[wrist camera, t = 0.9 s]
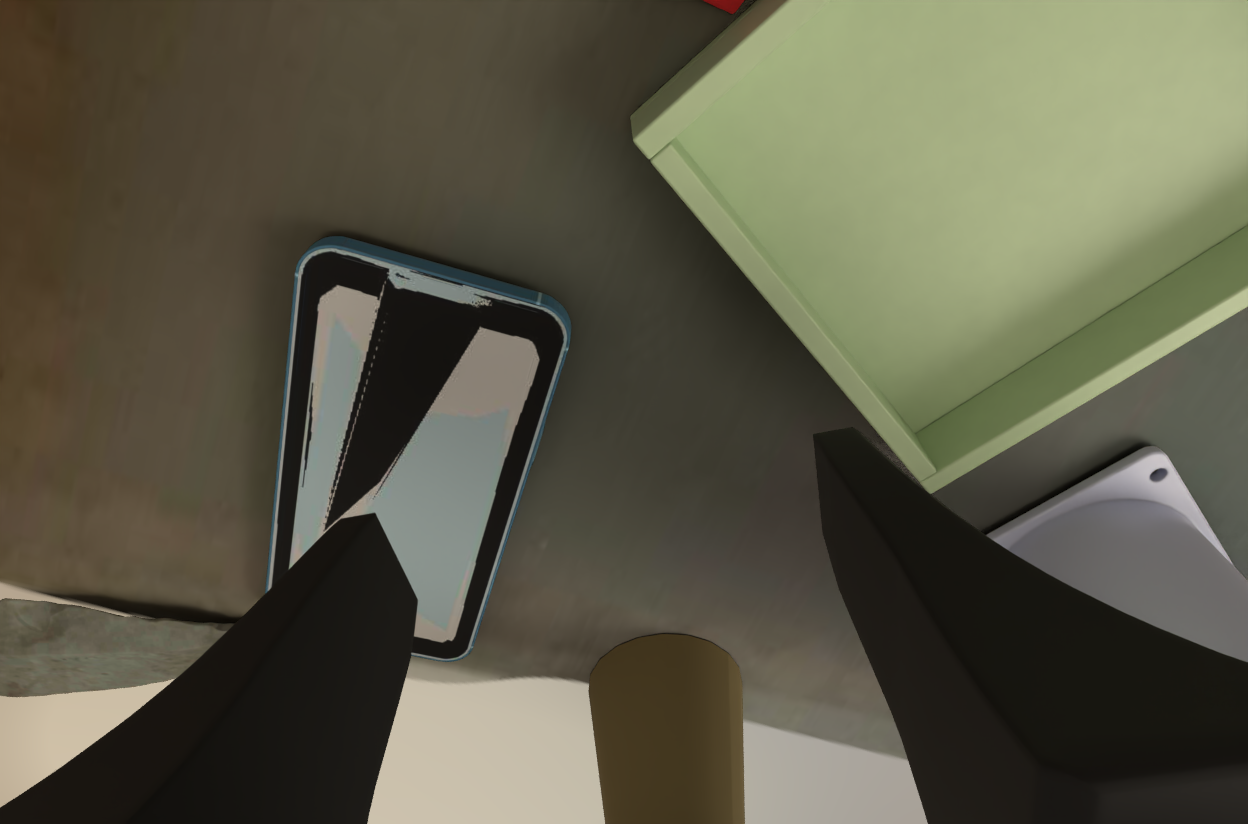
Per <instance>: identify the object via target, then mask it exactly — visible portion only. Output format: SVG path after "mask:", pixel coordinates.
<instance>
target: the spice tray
mask: <svg viewBox="0 0 1248 824" xmlns="http://www.w3.org/2000/svg"><path fill="white" fill-rule="evenodd" d="M630 120H631V128H632V137H633V142H634V143H635V145H636V146H637V147H638V148H639V149H640V150H641V152H642V153H643V154H644V155H645V156H646V158H648V159H650V161H651V164H652V165H653V166H654V167H655V168H656V170H657V171H658V172H659V173H660V174H661V175H662V177H663V178H664V179H665V180H666V181H667V183H668V184H669V185H670V186H671V187H672V189H673V190H674V191H675V192H676V193H677V195H678V196H679V197H680V198H681V199H682V201H683V202H684V203H685V204H686V205H687V206H688V208H689V209H690V210H691V211H692V212H693V214H694V215H695V216H696V217H697V218H698V220H699V221H700V222H701V223H702V224H703V226H704V227H705V228H706V229H707V230H708V231H709V233H710V234H711V235H712V236H713V237H714V239H715V240H716V241H717V242H718V243H719V245H720V246H721V247H722V248H723V249H724V251H725V252H726V253H727V254H728V255H729V256H730V258H731V259H732V260H733V261H734V262H735V264H736V265H737V266H738V267H739V268H740V270H741V271H742V272H743V273H744V274H745V276H746V277H747V278H748V279H749V280H750V282H751V283H752V284H753V285H754V286H755V287H756V289H757V290H758V291H759V292H760V293H761V295H762V296H763V297H764V298H765V299H766V301H767V302H768V303H769V304H770V305H771V307H772V308H773V309H774V310H775V311H776V312H777V314H778V315H779V316H780V317H781V318H782V320H783V321H784V322H785V323H786V324H787V326H788V327H789V328H790V329H791V330H792V332H793V333H794V334H795V335H796V336H797V337H798V339H799V340H800V341H801V342H802V343H803V345H804V346H805V347H806V348H807V349H808V351H809V352H810V353H811V354H812V355H813V357H814V358H815V359H816V360H817V361H818V363H819V364H820V365H821V366H822V367H823V368H824V370H825V371H826V372H827V373H828V374H829V376H830V377H831V378H832V379H833V380H834V382H835V383H836V384H837V385H838V386H839V388H840V389H841V390H842V391H843V392H844V393H845V395H846V396H847V397H848V398H849V399H850V401H851V402H852V403H853V404H854V405H855V407H856V408H857V409H858V410H859V411H860V413H861V414H862V415H863V416H864V417H865V418H866V420H867V421H868V422H869V423H870V424H871V426H872V427H873V428H874V429H875V430H876V432H877V433H878V434H879V435H880V436H881V438H882V439H883V440H884V441H885V442H886V444H887V445H888V446H889V447H890V448H891V449H892V451H893V452H894V453H895V454H896V455H897V457H898V458H899V459H900V460H901V461H902V463H903V464H904V465H905V466H906V467H907V469H908V470H909V471H910V472H911V473H912V474H913V476H914V477H915V478H916V479H917V480H918V481H919V483H920V484H921V485H922V486H923V488H924V489H925V490H926V491H927V492H928V493H930V494H932V493H933V492H935V491H937V490H938V489H940V488H942V487H944V486H945V485H947V484H949V483H950V482H952V481H954V480H955V479H957V478H959V477H960V476H962V475H964V474H965V473H967V472H969V471H971V470H972V469H974V468H976V467H977V466H979V465H981V464H982V463H984V462H986V461H987V460H989V459H991V458H992V457H994V456H996V455H998V454H999V453H1001V452H1003V451H1004V450H1006V449H1008V448H1009V447H1011V446H1013V445H1014V444H1016V443H1018V442H1020V441H1021V440H1023V439H1025V438H1026V437H1028V436H1030V435H1031V434H1033V433H1035V432H1036V431H1038V430H1040V429H1041V428H1043V427H1045V426H1047V425H1048V424H1050V423H1052V422H1053V421H1055V420H1057V419H1058V418H1060V417H1062V416H1063V415H1065V414H1067V413H1068V412H1070V411H1072V410H1074V409H1075V408H1077V407H1079V406H1080V405H1082V404H1084V403H1085V402H1087V401H1089V400H1090V399H1092V398H1094V397H1096V396H1097V395H1099V394H1101V393H1102V392H1104V391H1106V390H1107V389H1109V388H1111V387H1112V386H1114V385H1116V384H1117V383H1119V382H1121V381H1123V380H1124V379H1126V378H1128V377H1129V376H1131V375H1133V374H1134V373H1136V372H1138V371H1139V370H1141V369H1143V368H1144V367H1146V366H1148V365H1150V364H1151V363H1153V362H1155V361H1156V360H1158V359H1160V358H1161V357H1163V356H1165V355H1166V354H1168V353H1170V352H1171V351H1173V350H1175V349H1177V348H1178V347H1180V346H1182V345H1183V344H1185V343H1187V342H1188V341H1190V340H1192V339H1193V338H1195V337H1197V336H1199V335H1200V334H1202V333H1204V332H1205V331H1207V330H1209V329H1210V328H1212V327H1214V326H1215V325H1217V324H1219V323H1220V322H1222V321H1224V320H1226V319H1227V318H1229V317H1231V316H1232V315H1234V314H1236V313H1237V312H1239V311H1241V310H1242V309H1244V308H1246V307H1247V306H1248V0H757V1H755V2H754V3H753V4H752V5H751V6H750V7H749V8H748V9H747V10H746V11H744V12H743V13H742V14H741V15H740V16H739V17H738V18H737V19H736V20H735V21H734V22H732V23H731V24H730V25H729V26H728V27H727V28H726V29H725V30H724V31H723V32H722V33H720V34H719V35H718V36H717V37H716V38H715V39H714V40H713V41H712V42H711V43H709V44H708V45H707V46H706V47H705V48H704V49H703V50H702V51H701V52H700V53H699V54H697V55H696V56H695V57H694V58H693V59H692V60H691V61H690V62H689V63H688V64H687V65H685V66H684V67H683V68H682V69H681V70H680V71H679V72H678V73H677V74H676V75H675V76H673V77H672V78H671V79H670V80H669V81H668V82H667V83H666V84H665V85H664V86H662V87H661V88H660V89H659V90H658V91H657V92H656V93H655V94H654V95H653V96H652V97H650V98H649V99H648V100H647V101H646V102H645V103H644V104H643V105H642V106H641V107H640V108H638V109H637V110H636V111H635V112H634V113H633V114H632V115H631V116H630Z"/></svg>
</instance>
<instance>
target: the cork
mask: <svg viewBox="0 0 1248 824" xmlns="http://www.w3.org/2000/svg"><path fill="white" fill-rule="evenodd" d="M589 698H590V706H591V714H592V721H593V730H594V738H595V746H596V754H597V762H598V769H599V778H600V785H601V793H602V801H603V809H604V817H605V824H745V812H744V757H743V755H744V754H743V699H742V680H741V675H740V670H739V667H738V666H737V664H736V663H735V662H734V660H733V659H732V658H731V656H730V655H729V654H728V653H727V652H725V651H724V650H722V649H721V648H719V647H718V646H716V645H714V644H713V643H711V642H709V641H705V640H702V639H699V638H695V637H692V636H689V635H674V634H659V635H653V636H647V637H640V638H637V639H634V640H632V641H629V642H627V643H624V644H622V645H620V646H617V647H616V648H614V649H613V650H612V651H610V652H609V653H608V654H607V655H605V656H604V657H603V658H601V659H600V660H599V662H598V664H597V665H596V667H595V668H594V670H593V672H592V673H591V675H590V683H589Z"/></svg>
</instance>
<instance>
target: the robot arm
mask: <svg viewBox="0 0 1248 824" xmlns="http://www.w3.org/2000/svg"><path fill="white" fill-rule="evenodd" d="M813 438H814V448H815V459H816V469H817V479H818V490H819V500H820V510H821V521H822V531H823V536H824V539H825V543H826V546H827V550H828V553H829V557H830V560H831V564H832V567H833V571H834V574H835V577H836V581H837V584H838V587H839V590H840V593H841V595H842V597H843V600H844V602H845V605H846V607H847V609H848V612H849V614H850V616H851V619H852V621H853V624H854V626H855V628H856V631H857V633H858V635H859V638H860V640H861V642H862V645H863V647H864V649H865V652H866V654H867V656H868V659H869V661H870V663H871V666H872V668H873V670H874V673H875V675H876V677H877V680H878V682H879V685H880V687H881V689H882V692H883V694H884V696H885V699H886V701H887V703H888V706H889V708H890V710H891V713H892V715H893V718H894V721H895V723H896V726H897V729H898V731H899V734H900V737H901V739H902V742H903V745H904V748H905V752H906V755H907V758H908V761H909V764H910V767H911V771H912V774H913V777H914V780H915V783H916V786H917V790H918V793H919V796H920V799H921V802H922V805H923V809H924V812H925V815H926V819H927V822H928V824H1248V580H1247V579H1246V578H1245V577H1244V576H1243V575H1242V574H1241V573H1240V572H1239V571H1238V570H1237V569H1236V568H1235V567H1234V565H1233V564H1232V562H1231V560H1230V559H1229V557H1228V555H1227V554H1226V552H1225V550H1224V549H1223V547H1222V545H1221V544H1220V542H1219V540H1218V539H1217V537H1216V535H1215V534H1214V532H1213V530H1212V529H1211V527H1210V526H1209V524H1208V522H1207V521H1206V519H1205V517H1204V516H1203V514H1202V512H1201V511H1200V509H1199V507H1198V506H1197V504H1196V502H1195V501H1194V499H1193V497H1192V496H1191V494H1190V492H1189V491H1188V489H1187V487H1186V486H1185V484H1184V482H1183V481H1182V479H1181V478H1180V476H1179V474H1178V473H1177V471H1176V469H1175V468H1174V466H1173V464H1172V463H1171V461H1170V459H1169V458H1168V456H1167V455H1166V454H1165V453H1164V452H1163V451H1162V450H1161V449H1160V448H1158V447H1155V446H1148V447H1144V448H1142V449H1139V450H1138V451H1136V452H1134V453H1132V454H1130V455H1129V456H1127V457H1125V458H1123V459H1121V460H1120V461H1118V462H1116V463H1114V464H1112V465H1111V466H1109V467H1107V468H1105V469H1103V470H1102V471H1100V472H1098V473H1096V474H1094V475H1093V476H1091V477H1089V478H1087V479H1086V480H1084V481H1082V482H1080V483H1078V484H1077V485H1075V486H1073V487H1071V488H1069V489H1068V490H1066V491H1064V492H1062V493H1060V494H1059V495H1057V496H1055V497H1053V498H1051V499H1050V500H1048V501H1046V502H1044V503H1042V504H1041V505H1039V506H1037V507H1035V508H1033V509H1032V510H1030V511H1028V512H1026V513H1024V514H1023V515H1021V516H1019V517H1017V518H1015V519H1014V520H1012V521H1010V522H1008V523H1006V524H1005V525H1003V526H1001V527H999V528H998V529H996V530H994V531H992V532H990V533H989V534H987V535H985V534H983V533H982V532H980V531H979V530H978V529H976V528H975V527H973V526H972V525H970V524H969V523H968V522H966V521H965V520H963V519H962V518H961V517H959V516H958V515H957V514H955V513H954V512H953V511H951V510H950V509H949V508H947V507H946V506H945V505H943V504H942V503H941V502H940V501H938V500H937V499H936V498H935V497H933V496H932V495H931V494H930V493H928V492H927V491H926V490H925V489H923V488H922V487H921V486H920V485H918V484H917V483H916V482H915V481H914V480H912V479H911V478H910V477H909V476H908V475H906V474H905V473H904V472H903V471H902V470H901V469H900V468H898V467H897V466H896V465H895V464H894V463H893V462H892V461H890V460H889V459H888V458H887V457H886V456H885V455H884V454H883V453H882V452H880V451H879V450H878V449H877V448H876V447H875V446H874V445H873V444H872V443H871V442H870V441H869V440H868V439H867V438H866V437H865V436H863V435H862V434H861V433H860V432H859V431H858V430H856V429H855V428H853V427H851V428H845V429H840V430H834V431H828V432H823V433H817V434H813ZM1156 469H1158V470H1157V471H1156V472H1154V473H1152V472H1153V471H1155V470H1156ZM1151 473H1152V474H1151ZM417 606H418V599H417V597H416V595H415V593H414V591H413V588H412V586H411V584H410V582H409V580H408V578H407V576H406V574H405V572H404V570H403V568H402V566H401V564H400V562H399V560H398V558H397V556H396V554H395V552H394V550H393V548H392V546H391V544H390V542H389V540H388V538H387V536H386V534H385V532H384V530H383V528H382V526H381V524H380V521H379V519H378V517H377V515H376V513H369V514H364V515H358V516H353V517H347V518H341V519H340V520H338V521H337V522H336V523H335V524H334V525H333V526H332V527H331V528H329V529H328V530H327V531H326V532H325V533H324V534H323V535H322V536H321V537H320V538H319V539H318V540H317V541H316V542H315V543H314V544H313V545H312V546H311V547H310V548H309V549H308V550H307V551H306V552H305V553H304V554H303V555H302V556H301V558H300V559H299V560H298V561H297V562H296V563H295V564H294V565H293V566H292V567H291V568H290V569H289V570H288V571H287V572H286V573H285V574H284V575H283V576H282V577H281V578H280V579H279V580H278V581H277V582H276V583H275V584H274V585H273V586H272V587H271V588H270V589H269V590H268V591H267V593H266V594H265V595H264V596H263V597H262V598H261V599H260V600H259V601H258V602H257V603H256V604H255V605H254V606H253V607H252V608H251V609H250V610H249V611H248V612H247V613H246V614H245V615H244V616H243V617H242V618H241V619H239V620H238V621H237V622H236V623H235V624H234V625H233V626H232V627H231V628H230V629H229V630H228V631H227V632H226V633H225V634H224V635H223V636H222V637H221V638H220V639H219V640H217V641H216V642H215V643H214V644H213V645H212V646H211V647H210V648H209V649H208V650H207V651H206V652H205V653H204V654H203V655H202V656H201V657H200V658H199V659H197V660H196V661H195V662H194V663H193V664H192V665H191V666H190V667H189V668H187V669H186V670H185V671H184V672H183V673H182V674H181V675H179V676H178V677H177V678H176V679H175V680H174V681H173V682H171V683H170V684H169V685H168V686H167V687H165V688H164V689H163V690H162V691H161V692H159V693H158V694H157V695H156V696H155V697H153V698H152V699H151V700H150V701H148V702H147V703H146V704H145V705H144V706H142V707H141V708H140V709H139V710H138V711H136V712H135V713H134V714H132V715H131V716H130V717H129V718H127V719H126V720H125V721H124V722H122V723H121V724H119V725H118V726H117V727H115V728H114V729H113V730H111V731H110V732H108V733H107V734H106V735H104V736H103V737H102V738H100V739H99V740H98V741H96V742H95V743H94V744H92V745H91V746H89V747H88V748H87V749H85V750H84V751H83V752H81V753H80V754H79V755H77V756H76V757H74V758H73V759H72V760H70V761H69V762H68V763H66V764H65V765H64V766H62V767H61V768H59V769H58V770H56V771H55V772H54V773H52V774H51V775H49V776H48V777H46V778H45V779H43V780H42V781H40V782H39V783H37V784H36V785H34V786H33V787H31V788H30V789H28V790H27V791H25V792H24V793H22V794H21V795H19V796H18V797H16V798H15V799H13V800H11V801H10V802H8V803H7V804H5V805H4V806H2V807H1V808H0V824H367V822H368V816H369V812H370V807H371V803H372V799H373V794H374V790H375V786H376V782H377V779H378V775H379V771H380V768H381V764H382V761H383V757H384V753H385V750H386V746H387V743H388V739H389V736H390V732H391V729H392V725H393V721H394V717H395V714H396V710H397V707H398V704H399V700H400V696H401V692H402V688H403V684H404V681H405V678H406V674H407V670H408V666H409V662H410V658H411V653H412V646H413V639H414V632H415V624H416V615H417Z"/></svg>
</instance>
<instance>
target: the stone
mask: <svg viewBox="0 0 1248 824" xmlns="http://www.w3.org/2000/svg"><path fill="white" fill-rule="evenodd" d="M233 625H234V623H227V624H220V623H212V622H209V623H196V622H191V621H178V620H174V619H171V618H158V619H145V618H139V617H136V616H132V617H124V616H120V615H115V614H111V613H107V612H103V611H99V610H94V609H90V608H86V607H82V606H75V605H66V604H57V603H52V602H47V601H31V600H21V599H7V598H5V599H2V600H0V696H7V697H28V696H45V695H51V694H62V693H72V692H84V691H98V690H108V689H117V688H127V687H136V686H141V685H146V684H150V683H157V682H164V681H168V680H171V679H175V678H177V677H178V676H179V675H181V674H182V673H183V672H184V671H185V670H186V669H187V668H189V667H190V666H191V665H192V664H193V663H194V662H195V661H196V660H197V659H199V658H200V657H201V656H202V655H203V654H204V653H205V652H206V651H207V650H208V649H209V648H210V647H211V646H212V645H213V644H214V643H215V642H216V641H217V640H219V639H220V638H221V637H222V636H223V635H224V634H225V633H226V632H227V631H228V630H229V629H230V628H231V627H232V626H233Z"/></svg>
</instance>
